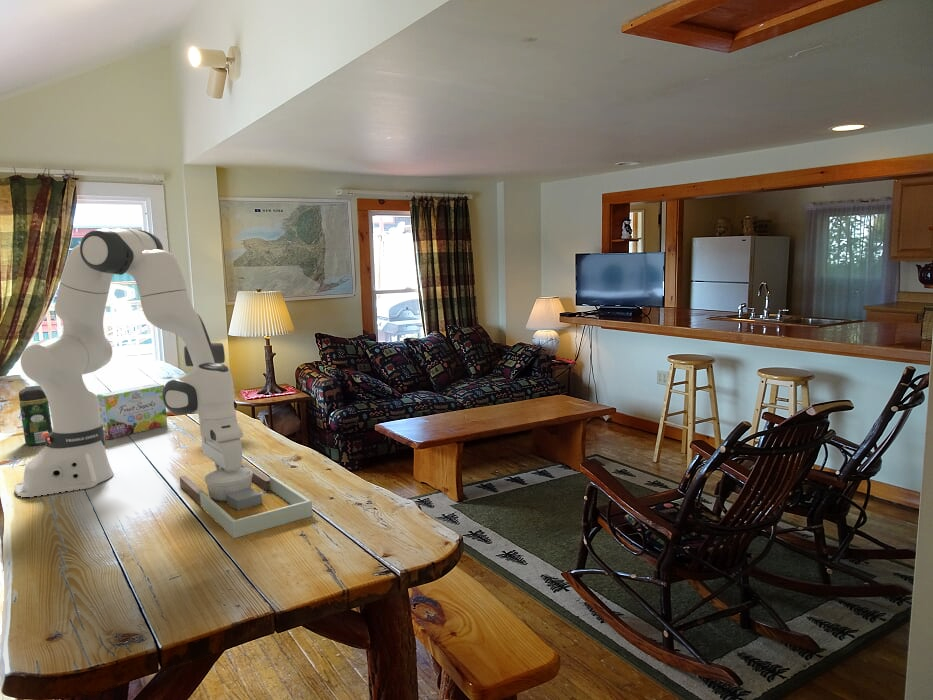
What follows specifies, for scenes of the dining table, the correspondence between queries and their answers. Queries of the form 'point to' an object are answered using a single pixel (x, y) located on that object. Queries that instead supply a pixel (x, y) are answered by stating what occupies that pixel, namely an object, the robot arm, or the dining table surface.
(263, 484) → the runway rails
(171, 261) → the robot arm
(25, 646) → the dining table surface
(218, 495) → the ramekin
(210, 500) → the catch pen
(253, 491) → the slate tile
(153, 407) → the snack box
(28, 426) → the coffee jar
